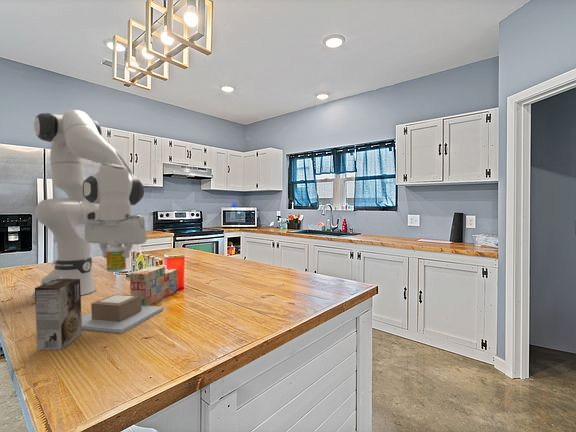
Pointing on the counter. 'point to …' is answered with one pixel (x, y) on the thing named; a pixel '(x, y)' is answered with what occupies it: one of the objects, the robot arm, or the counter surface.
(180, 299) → the counter surface
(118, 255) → the supplement bottle
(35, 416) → the counter surface
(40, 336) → the coffee box
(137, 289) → the stack of blocks
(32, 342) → the counter surface
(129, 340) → the counter surface
